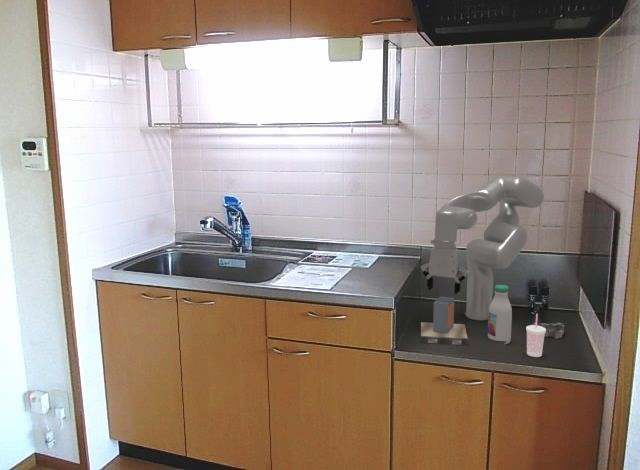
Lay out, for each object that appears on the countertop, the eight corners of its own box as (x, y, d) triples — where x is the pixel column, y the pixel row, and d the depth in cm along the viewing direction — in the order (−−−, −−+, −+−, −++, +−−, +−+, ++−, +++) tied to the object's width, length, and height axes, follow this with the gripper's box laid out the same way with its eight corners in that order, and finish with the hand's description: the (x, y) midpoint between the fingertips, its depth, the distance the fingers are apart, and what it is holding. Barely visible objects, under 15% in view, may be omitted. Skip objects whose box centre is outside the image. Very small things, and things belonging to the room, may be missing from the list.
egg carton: (565, 334, 202) (566, 323, 201) (560, 340, 196) (561, 329, 195) (534, 328, 208) (535, 317, 207) (529, 334, 202) (530, 323, 201)
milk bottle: (510, 338, 198) (513, 284, 194) (510, 346, 191) (513, 290, 187) (488, 335, 201) (490, 282, 197) (486, 343, 194) (489, 288, 190)
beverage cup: (543, 351, 187) (545, 311, 184) (545, 358, 181) (548, 317, 178) (523, 349, 188) (526, 310, 186) (525, 356, 183) (527, 316, 180)
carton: (440, 324, 209) (440, 296, 206) (453, 326, 206) (454, 298, 204) (432, 331, 202) (433, 302, 200) (447, 333, 199) (447, 304, 197)
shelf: (464, 328, 209) (464, 319, 208) (468, 349, 189) (469, 339, 188) (420, 325, 212) (421, 317, 211) (420, 346, 192) (420, 337, 191)
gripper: (418, 243, 199) (416, 290, 202) (466, 249, 190) (464, 297, 193) (425, 240, 205) (424, 285, 208) (472, 245, 196) (470, 292, 200)
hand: (443, 291), depth 201 cm, fingers open, 9 cm apart
